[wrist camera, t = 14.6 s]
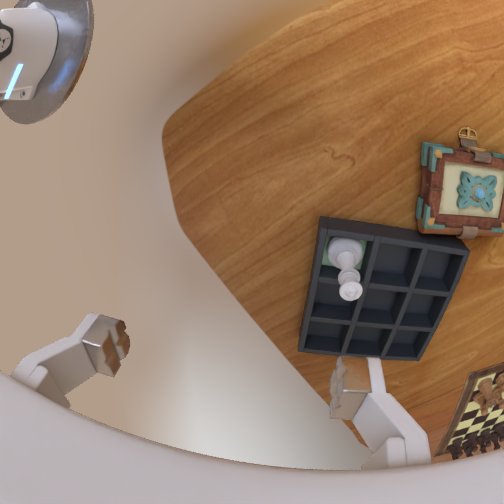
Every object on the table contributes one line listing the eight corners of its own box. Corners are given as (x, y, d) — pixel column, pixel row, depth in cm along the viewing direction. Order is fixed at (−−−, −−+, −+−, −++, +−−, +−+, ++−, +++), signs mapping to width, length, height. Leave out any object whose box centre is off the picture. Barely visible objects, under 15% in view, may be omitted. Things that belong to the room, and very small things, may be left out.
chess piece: (328, 264, 38) (330, 316, 30) (324, 233, 36) (327, 280, 28) (362, 261, 37) (373, 312, 28) (360, 230, 35) (374, 275, 26)
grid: (299, 334, 46) (297, 351, 43) (319, 215, 36) (320, 228, 33) (414, 345, 43) (419, 361, 40) (459, 238, 33) (470, 251, 30)
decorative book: (513, 231, 31) (531, 248, 26) (411, 226, 34) (423, 244, 30) (528, 140, 24) (550, 148, 20) (420, 118, 28) (436, 123, 24)
